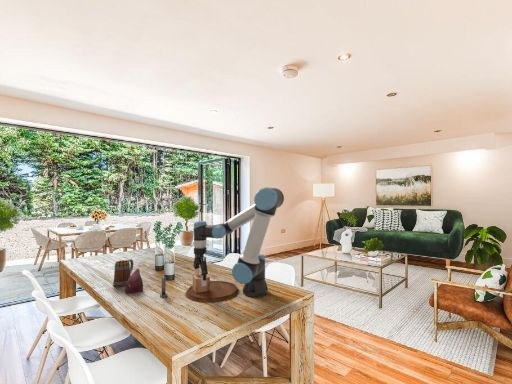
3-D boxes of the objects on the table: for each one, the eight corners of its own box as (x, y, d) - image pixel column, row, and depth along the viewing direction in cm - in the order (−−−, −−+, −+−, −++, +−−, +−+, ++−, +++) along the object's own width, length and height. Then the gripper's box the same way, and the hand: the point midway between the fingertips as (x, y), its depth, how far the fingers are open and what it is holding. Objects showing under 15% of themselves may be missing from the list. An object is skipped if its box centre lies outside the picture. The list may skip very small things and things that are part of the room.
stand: (167, 296, 155) (167, 277, 155) (160, 297, 153) (160, 278, 153) (166, 294, 158) (166, 275, 158) (159, 295, 156) (159, 276, 156)
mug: (123, 287, 170) (123, 264, 170) (109, 286, 172) (109, 263, 172) (139, 280, 185) (139, 258, 185) (125, 279, 187) (125, 257, 187)
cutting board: (230, 281, 182) (230, 278, 182) (246, 298, 153) (246, 294, 153) (182, 287, 171) (182, 283, 171) (189, 307, 141) (189, 302, 141)
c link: (205, 286, 166) (205, 273, 166) (209, 290, 159) (209, 277, 159) (192, 288, 162) (192, 275, 162) (196, 293, 155) (196, 279, 155)
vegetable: (137, 292, 170) (141, 268, 175) (145, 293, 164) (149, 268, 168) (121, 292, 163) (125, 267, 167) (128, 294, 156) (133, 267, 161)
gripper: (188, 244, 169) (188, 277, 169) (200, 251, 148) (200, 289, 147) (199, 243, 173) (199, 276, 173) (213, 249, 151) (213, 287, 151)
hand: (200, 282), depth 160 cm, fingers open, 13 cm apart
